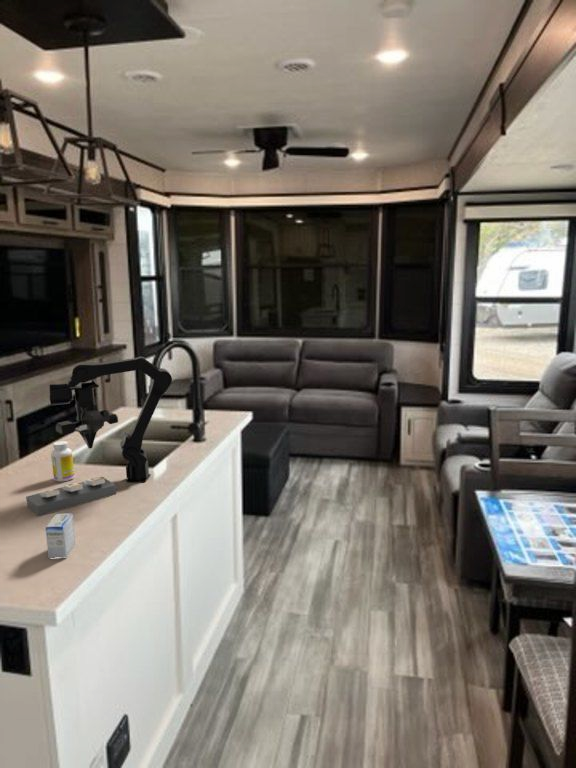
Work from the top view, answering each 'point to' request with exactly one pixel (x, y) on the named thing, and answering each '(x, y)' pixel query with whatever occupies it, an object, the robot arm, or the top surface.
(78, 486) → the rocker middle
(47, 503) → the rocker switch panel
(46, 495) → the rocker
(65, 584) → the top surface
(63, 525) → the medicine box
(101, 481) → the block
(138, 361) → the robot arm
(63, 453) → the supplement bottle
